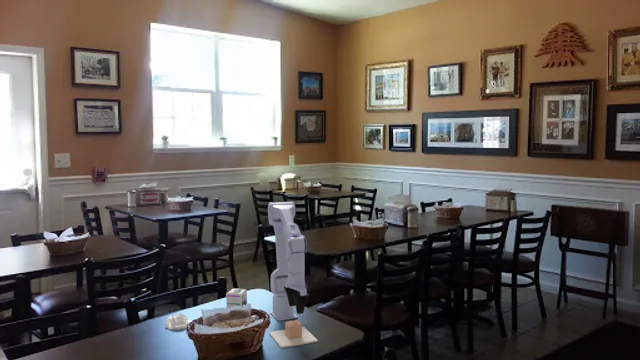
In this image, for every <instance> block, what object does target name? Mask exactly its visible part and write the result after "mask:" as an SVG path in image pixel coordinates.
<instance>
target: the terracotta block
mask: <svg viewBox="0 0 640 360" xmlns="http://www.w3.org/2000/svg"><path fill="white" fill-rule="evenodd" d="M302 327H303V324H302V323H301V322H300V321H299V320H298V319H295V320H289V321H285V322H284V329H285V335H286V336H287V337H288V338H289V339H294V338H300V337H302Z"/></svg>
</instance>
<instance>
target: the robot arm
mask: <svg viewBox="0 0 640 360" xmlns="http://www.w3.org/2000/svg"><path fill="white" fill-rule="evenodd" d="M295 216H296V204H295V202H293V201H281V202H279V201H278V202H271V201H270V202H269V203H268V206H267V217H268V224H269V225H270V226H273V230H274V235H275V236H274V238H275V239H274V241H275V252H276V265H277V266H276V267H277V268H276V269H275V270H274V271H273V272H272V273H271V275H270V291H271V293H272V294H273V295H272V311H270V314H271V315H272V316H273V317H274V318H275V320H277V321H278V322H280V321H286V320H291V319H297V318H298V316H297V315H300V314H304V312H305V307H306V304H307V302H308V299H309V298H310V295H311V294H310V293H309V292H307V288H306V282H305V281H306V280H305V279H306V277H305V274H306V273H305V269H306V268H305V260H306V259H305V254H306V253H307V250H308V243H307V239H306V236H305V235H303V234H302V233H301V231H300V228H299V225H298V224H297V223H295V222H294V219H295ZM295 312H296V314H295Z"/></svg>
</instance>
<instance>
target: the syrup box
mask: <svg viewBox="0 0 640 360" xmlns="http://www.w3.org/2000/svg"><path fill="white" fill-rule="evenodd" d="M247 294H248V293H247V289H246V288H231V290H228V292H226V294H225V297H226V300H225V302H226V309H227V308H231V307H233V306H241V307H242V306H243V305H246V304H247V305H248V298H247V297H248V295H247Z"/></svg>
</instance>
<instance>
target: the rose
mask: <svg viewBox="0 0 640 360" xmlns="http://www.w3.org/2000/svg"><path fill="white" fill-rule="evenodd" d="M192 321H193V320H191V319H189V317H188V316H187V315H185V314H183V313H178V314H176V315H172V316H168V318H166V320H165V327H167V329H168V330H169V331H181V330H185V329H187V328H188V327H189V326H188V324H189V323H190V322H192ZM187 326H188V327H187Z"/></svg>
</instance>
